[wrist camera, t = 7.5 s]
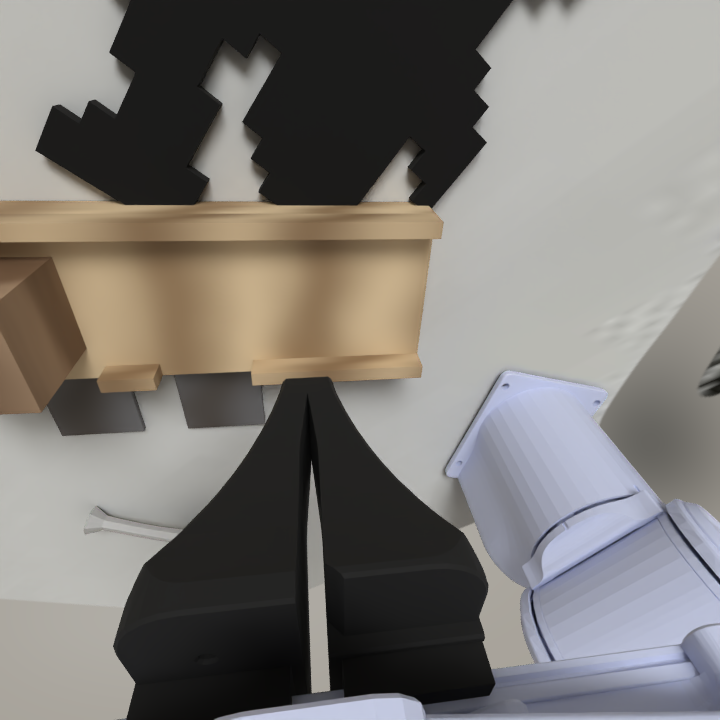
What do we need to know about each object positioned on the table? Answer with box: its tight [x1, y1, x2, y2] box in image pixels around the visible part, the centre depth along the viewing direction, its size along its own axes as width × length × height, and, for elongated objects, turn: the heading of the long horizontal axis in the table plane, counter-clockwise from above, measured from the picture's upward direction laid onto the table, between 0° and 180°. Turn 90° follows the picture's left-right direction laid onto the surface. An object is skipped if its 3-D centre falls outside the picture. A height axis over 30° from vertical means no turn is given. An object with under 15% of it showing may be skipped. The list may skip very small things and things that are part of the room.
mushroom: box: [84, 506, 182, 542], centre depth 30 cm, size 7×5×12 cm
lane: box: [0, 201, 444, 436], centre depth 21 cm, size 22×13×4 cm, turn 88°
